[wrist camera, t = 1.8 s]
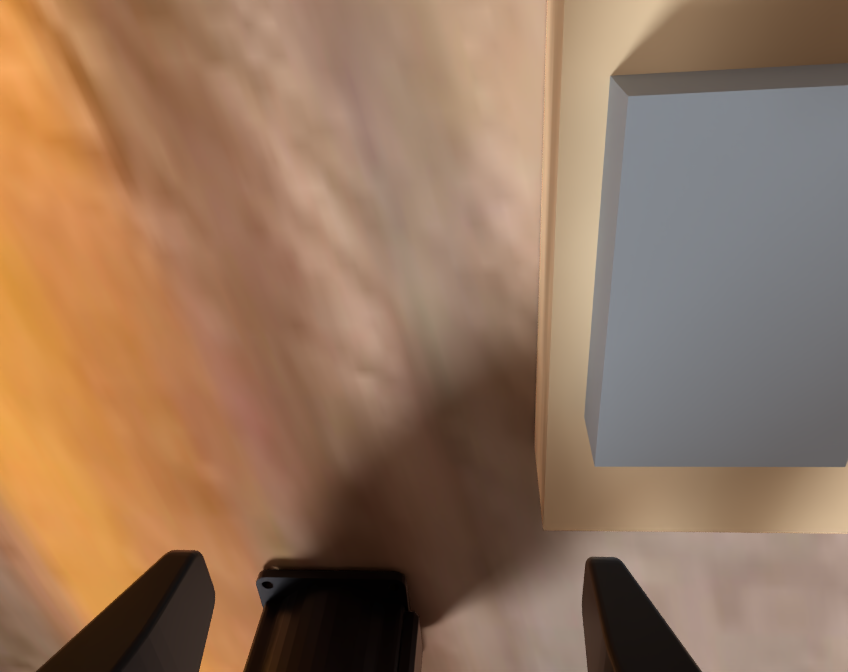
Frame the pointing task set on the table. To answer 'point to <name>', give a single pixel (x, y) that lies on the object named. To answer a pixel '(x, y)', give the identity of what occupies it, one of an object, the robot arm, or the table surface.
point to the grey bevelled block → (722, 271)
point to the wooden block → (577, 248)
